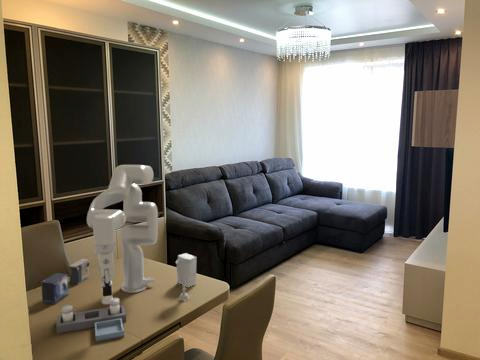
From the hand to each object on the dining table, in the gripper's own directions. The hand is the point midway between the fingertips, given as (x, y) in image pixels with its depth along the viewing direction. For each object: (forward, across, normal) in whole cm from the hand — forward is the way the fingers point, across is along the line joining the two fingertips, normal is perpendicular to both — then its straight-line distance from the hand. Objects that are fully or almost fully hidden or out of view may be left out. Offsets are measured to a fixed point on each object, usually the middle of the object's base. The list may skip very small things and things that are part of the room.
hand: (107, 292), depth 153 cm
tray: (+17, 0, 0) cm, 17 cm away
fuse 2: (+17, +11, -3) cm, 20 cm away
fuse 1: (+17, +11, +15) cm, 25 cm away
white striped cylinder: (+4, 0, 0) cm, 4 cm away
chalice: (+17, +18, -34) cm, 42 cm away
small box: (+17, +38, +21) cm, 47 cm away
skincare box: (+17, +33, -39) cm, 54 cm away
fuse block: (+17, +11, +6) cm, 21 cm away
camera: (+17, +56, +11) cm, 60 cm away
